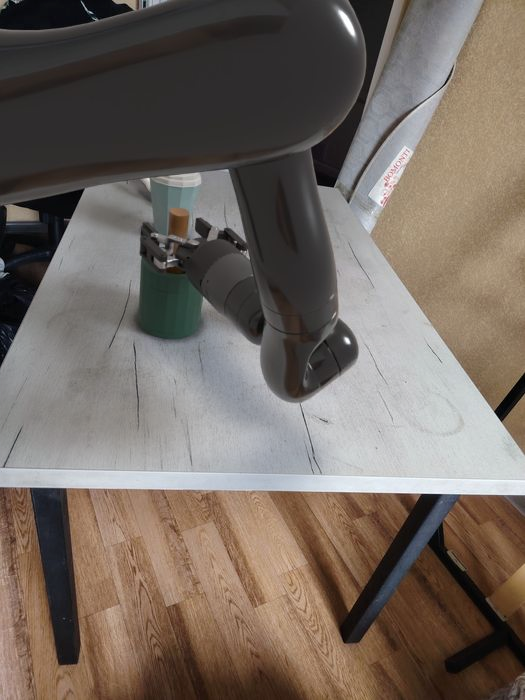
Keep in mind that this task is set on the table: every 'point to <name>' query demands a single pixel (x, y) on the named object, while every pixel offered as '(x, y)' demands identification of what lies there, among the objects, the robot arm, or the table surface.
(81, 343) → the table surface
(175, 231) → the brown and grey cylinder
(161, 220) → the disposable coffee cup
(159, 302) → the green cup
